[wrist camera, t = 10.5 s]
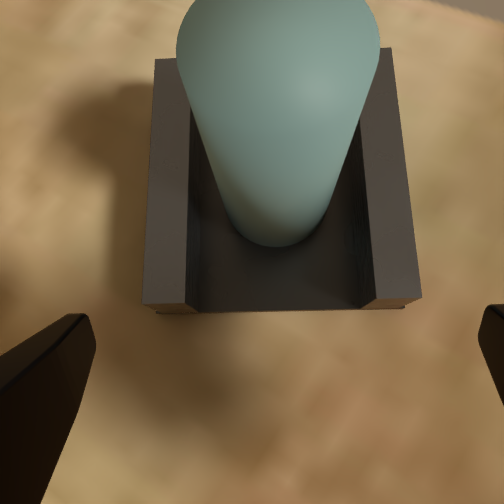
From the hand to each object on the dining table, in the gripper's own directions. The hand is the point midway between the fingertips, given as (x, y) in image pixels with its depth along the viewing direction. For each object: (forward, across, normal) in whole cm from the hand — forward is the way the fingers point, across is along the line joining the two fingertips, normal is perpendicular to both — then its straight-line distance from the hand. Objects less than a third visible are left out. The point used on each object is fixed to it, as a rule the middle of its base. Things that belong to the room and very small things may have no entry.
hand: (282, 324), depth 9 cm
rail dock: (+10, 0, +1) cm, 10 cm away
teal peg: (+9, 0, +1) cm, 9 cm away
